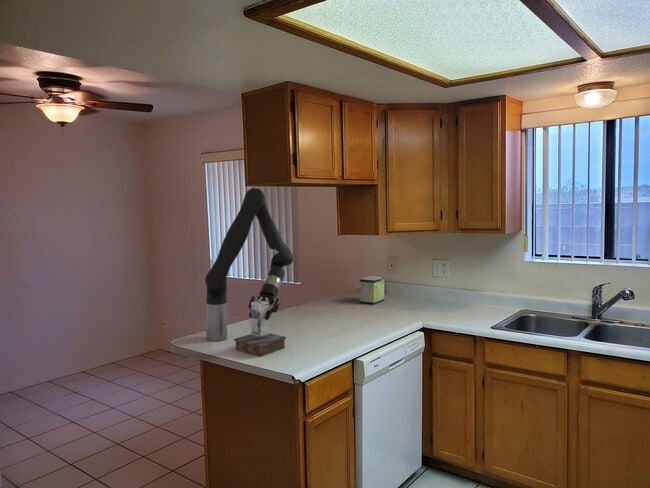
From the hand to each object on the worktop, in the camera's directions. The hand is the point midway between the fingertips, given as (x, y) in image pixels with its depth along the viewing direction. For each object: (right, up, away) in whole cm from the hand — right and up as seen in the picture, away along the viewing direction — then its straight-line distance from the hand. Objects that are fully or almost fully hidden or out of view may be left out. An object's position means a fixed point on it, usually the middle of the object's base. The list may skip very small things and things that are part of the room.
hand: (258, 318), depth 211 cm
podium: (+1, -14, +3) cm, 14 cm away
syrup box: (+1, -8, +2) cm, 8 cm away
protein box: (+59, -5, +101) cm, 117 cm away
